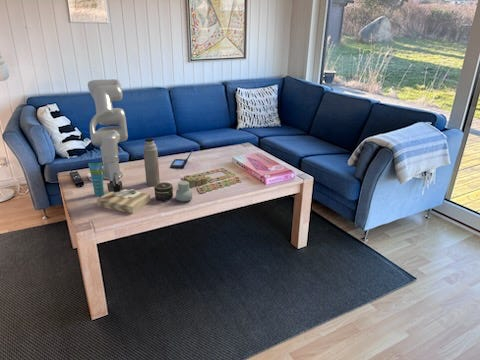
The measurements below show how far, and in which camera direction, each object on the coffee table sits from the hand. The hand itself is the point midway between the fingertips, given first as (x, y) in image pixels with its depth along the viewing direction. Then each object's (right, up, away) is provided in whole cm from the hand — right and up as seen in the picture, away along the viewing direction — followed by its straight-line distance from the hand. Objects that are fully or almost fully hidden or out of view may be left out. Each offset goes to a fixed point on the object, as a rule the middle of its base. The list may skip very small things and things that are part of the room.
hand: (115, 188), depth 198 cm
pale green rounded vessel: (+36, -6, +7) cm, 37 cm away
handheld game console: (+27, +15, +57) cm, 65 cm away
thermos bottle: (+14, +2, +27) cm, 30 cm away
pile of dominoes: (+50, +4, +33) cm, 60 cm away
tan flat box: (+5, -8, +1) cm, 10 cm away
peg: (+3, -3, +2) cm, 5 cm away
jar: (+25, -6, +8) cm, 27 cm away
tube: (-13, -4, +11) cm, 17 cm away
